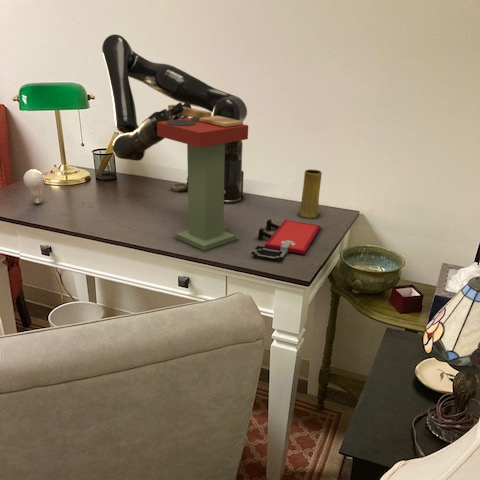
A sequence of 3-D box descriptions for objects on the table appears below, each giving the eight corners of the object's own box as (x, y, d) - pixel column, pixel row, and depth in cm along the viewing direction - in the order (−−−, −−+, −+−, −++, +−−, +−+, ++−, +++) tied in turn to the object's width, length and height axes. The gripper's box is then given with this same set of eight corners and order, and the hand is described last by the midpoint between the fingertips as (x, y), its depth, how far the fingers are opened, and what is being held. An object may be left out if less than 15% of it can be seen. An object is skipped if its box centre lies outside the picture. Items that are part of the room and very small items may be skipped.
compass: (174, 186, 194) (173, 166, 190) (194, 188, 193) (194, 168, 189) (167, 192, 187) (166, 172, 184) (188, 194, 186) (188, 174, 182)
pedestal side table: (161, 233, 153) (156, 121, 137) (205, 221, 163) (205, 115, 148) (201, 251, 142) (201, 132, 126) (245, 236, 153) (249, 124, 137)
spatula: (162, 112, 149) (161, 105, 148) (179, 110, 153) (179, 103, 152) (225, 127, 133) (225, 119, 132) (243, 124, 137) (243, 117, 136)
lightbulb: (41, 207, 169) (36, 173, 163) (23, 205, 170) (17, 171, 164) (51, 201, 174) (46, 168, 169) (34, 199, 175) (28, 166, 170)
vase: (320, 214, 173) (325, 170, 166) (314, 219, 168) (319, 175, 161) (302, 211, 175) (307, 168, 168) (296, 216, 170) (300, 172, 163)
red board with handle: (243, 256, 140) (298, 266, 136) (244, 246, 138) (299, 256, 135) (273, 222, 165) (319, 229, 161) (273, 213, 163) (321, 221, 160)
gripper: (131, 119, 154) (161, 93, 141) (168, 115, 163) (200, 90, 149) (139, 144, 155) (170, 121, 142) (176, 138, 164) (208, 116, 151)
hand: (185, 105), depth 146 cm, fingers closed on spatula, 2 cm apart
